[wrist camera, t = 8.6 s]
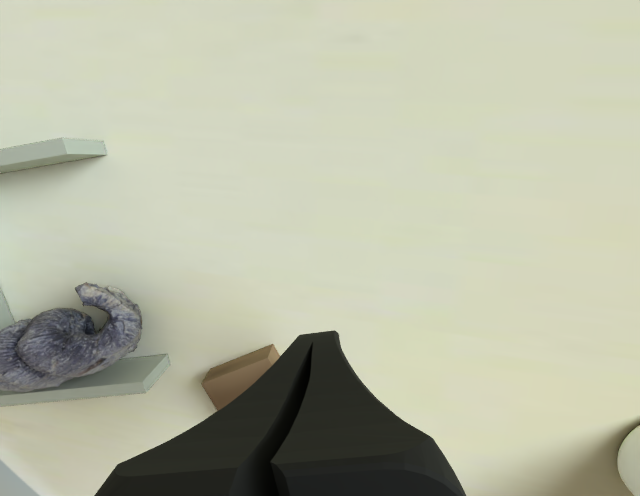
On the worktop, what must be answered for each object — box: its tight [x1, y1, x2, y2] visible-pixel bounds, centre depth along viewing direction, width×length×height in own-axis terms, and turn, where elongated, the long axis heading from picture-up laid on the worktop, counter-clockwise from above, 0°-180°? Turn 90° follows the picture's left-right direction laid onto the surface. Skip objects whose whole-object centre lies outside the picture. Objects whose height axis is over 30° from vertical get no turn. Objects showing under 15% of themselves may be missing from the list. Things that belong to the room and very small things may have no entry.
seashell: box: [0, 282, 142, 392], centre depth 21 cm, size 5×5×10 cm
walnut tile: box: [201, 344, 280, 411], centre depth 23 cm, size 5×5×2 cm
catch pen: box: [0, 138, 170, 407], centre depth 21 cm, size 15×11×3 cm
